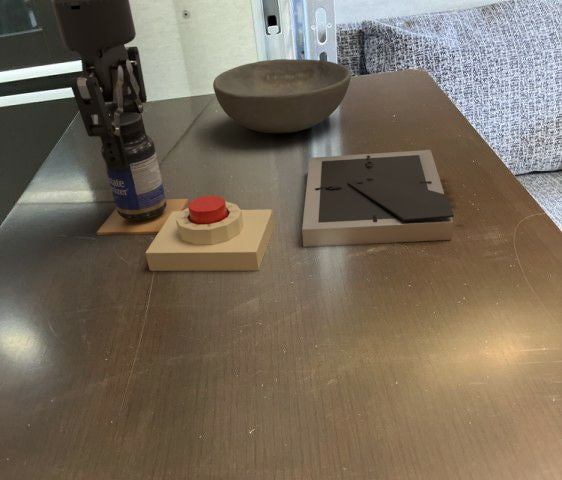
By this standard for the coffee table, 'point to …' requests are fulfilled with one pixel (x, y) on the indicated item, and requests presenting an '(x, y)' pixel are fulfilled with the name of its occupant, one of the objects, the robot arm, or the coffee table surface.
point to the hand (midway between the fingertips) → (129, 157)
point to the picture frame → (375, 200)
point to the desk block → (212, 242)
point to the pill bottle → (136, 173)
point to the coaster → (140, 221)
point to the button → (207, 210)
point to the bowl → (282, 93)
